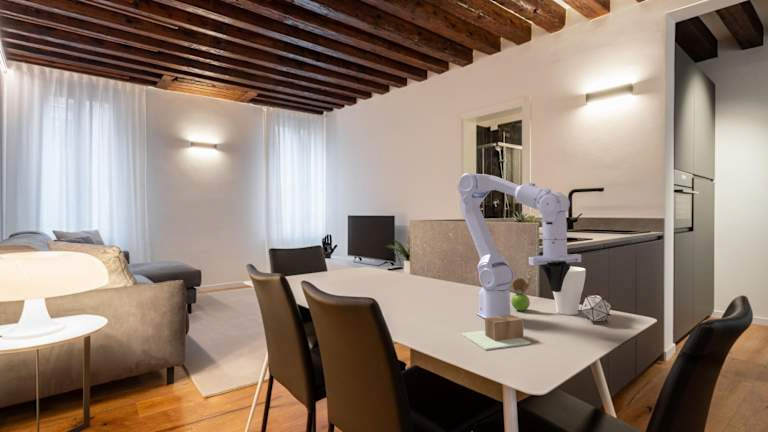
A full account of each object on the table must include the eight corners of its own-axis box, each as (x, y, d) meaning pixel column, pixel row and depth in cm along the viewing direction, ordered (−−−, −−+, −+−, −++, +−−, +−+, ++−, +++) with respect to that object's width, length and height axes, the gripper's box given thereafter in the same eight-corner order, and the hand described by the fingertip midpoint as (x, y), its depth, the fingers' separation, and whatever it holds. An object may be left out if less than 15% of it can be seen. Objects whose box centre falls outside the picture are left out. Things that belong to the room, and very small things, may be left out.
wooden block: (513, 332, 99) (485, 335, 97) (512, 314, 99) (484, 317, 97) (523, 337, 95) (495, 341, 93) (523, 319, 95) (494, 322, 93)
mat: (461, 334, 100) (461, 333, 100) (502, 329, 103) (502, 328, 103) (485, 350, 88) (485, 348, 88) (530, 344, 91) (530, 342, 91)
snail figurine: (535, 312, 119) (534, 273, 119) (514, 312, 119) (514, 274, 119) (529, 308, 124) (528, 271, 124) (509, 308, 125) (508, 271, 124)
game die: (604, 336, 106) (623, 313, 100) (573, 325, 107) (590, 301, 102) (600, 314, 113) (618, 291, 107) (571, 303, 114) (587, 280, 109)
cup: (569, 318, 111) (568, 272, 111) (541, 310, 121) (540, 267, 120) (594, 314, 115) (593, 269, 115) (565, 306, 125) (564, 265, 125)
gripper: (540, 241, 94) (542, 296, 94) (589, 238, 98) (591, 291, 98) (523, 239, 101) (524, 291, 101) (569, 237, 105) (571, 287, 105)
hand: (556, 291), depth 100 cm, fingers closed
